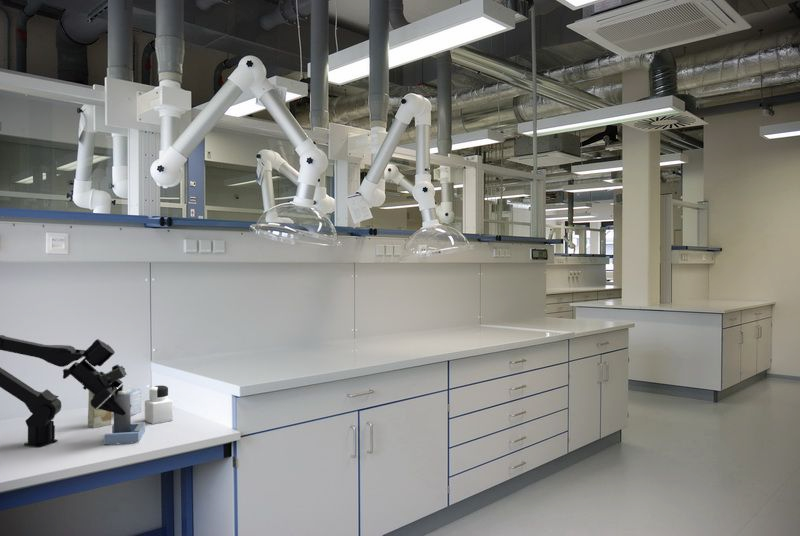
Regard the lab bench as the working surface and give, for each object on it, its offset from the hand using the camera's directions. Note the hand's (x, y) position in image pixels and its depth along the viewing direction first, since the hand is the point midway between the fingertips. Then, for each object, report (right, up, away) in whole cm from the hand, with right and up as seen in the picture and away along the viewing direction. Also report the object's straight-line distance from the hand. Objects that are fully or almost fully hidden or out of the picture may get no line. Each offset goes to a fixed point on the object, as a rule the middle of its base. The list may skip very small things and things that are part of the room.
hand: (127, 410), depth 187 cm
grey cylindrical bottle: (-1, -8, 0) cm, 8 cm away
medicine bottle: (+1, -9, +21) cm, 23 cm away
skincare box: (-16, -9, +14) cm, 23 cm away
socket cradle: (-1, -9, 0) cm, 9 cm away
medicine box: (-13, -9, +29) cm, 33 cm away
